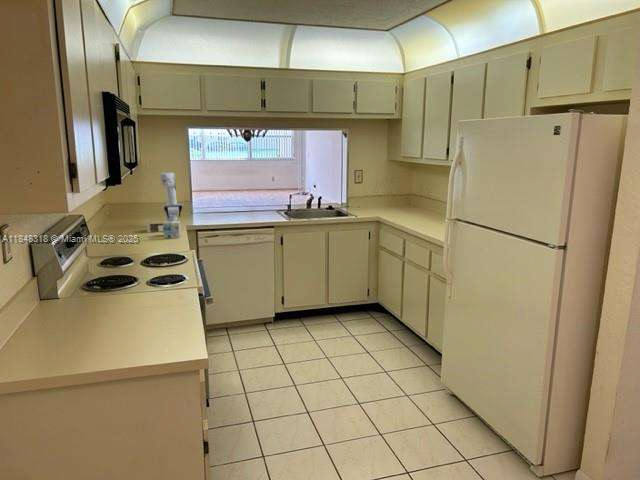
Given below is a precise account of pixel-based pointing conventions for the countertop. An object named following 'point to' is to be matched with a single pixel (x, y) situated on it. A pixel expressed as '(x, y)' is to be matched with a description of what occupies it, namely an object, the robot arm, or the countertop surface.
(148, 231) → the bookend
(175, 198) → the robot arm
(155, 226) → the shelf
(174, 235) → the light bulb box
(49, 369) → the countertop surface
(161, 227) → the book
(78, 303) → the countertop surface
